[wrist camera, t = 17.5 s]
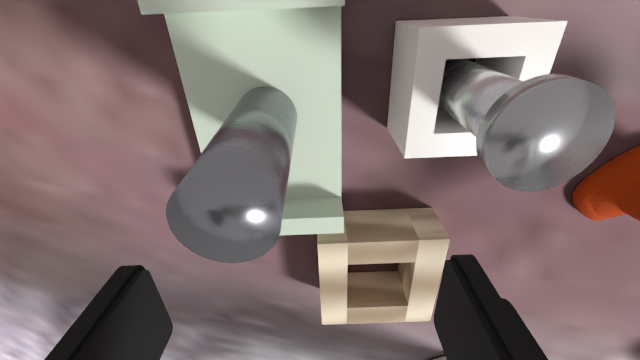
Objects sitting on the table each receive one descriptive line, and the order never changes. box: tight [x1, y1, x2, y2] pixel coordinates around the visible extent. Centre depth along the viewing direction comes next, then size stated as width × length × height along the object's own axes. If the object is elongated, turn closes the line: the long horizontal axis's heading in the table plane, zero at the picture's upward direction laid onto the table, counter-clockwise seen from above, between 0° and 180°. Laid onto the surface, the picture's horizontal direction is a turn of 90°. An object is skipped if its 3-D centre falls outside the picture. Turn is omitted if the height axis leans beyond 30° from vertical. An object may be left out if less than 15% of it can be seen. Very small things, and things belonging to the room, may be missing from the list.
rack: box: [137, 0, 345, 235], centre depth 20 cm, size 16×10×4 cm, turn 2°
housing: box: [387, 16, 567, 158], centre depth 18 cm, size 7×7×5 cm
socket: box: [317, 208, 450, 325], centre depth 27 cm, size 10×10×4 cm
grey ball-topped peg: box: [438, 59, 616, 191], centre depth 15 cm, size 4×4×10 cm
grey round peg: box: [166, 86, 297, 263], centre depth 15 cm, size 4×4×11 cm
